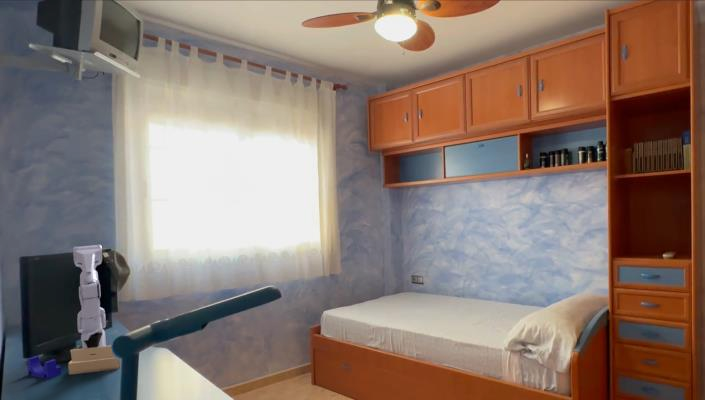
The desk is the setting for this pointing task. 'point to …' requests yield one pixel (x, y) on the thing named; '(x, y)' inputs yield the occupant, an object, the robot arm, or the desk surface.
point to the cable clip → (46, 372)
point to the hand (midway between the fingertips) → (93, 354)
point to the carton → (93, 365)
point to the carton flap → (85, 353)
